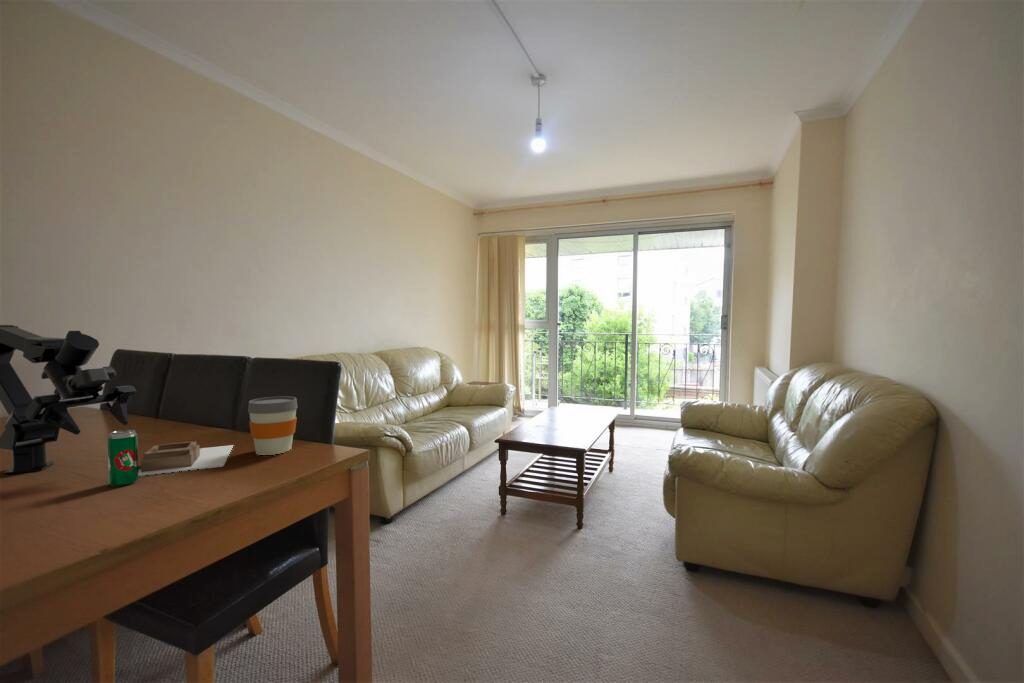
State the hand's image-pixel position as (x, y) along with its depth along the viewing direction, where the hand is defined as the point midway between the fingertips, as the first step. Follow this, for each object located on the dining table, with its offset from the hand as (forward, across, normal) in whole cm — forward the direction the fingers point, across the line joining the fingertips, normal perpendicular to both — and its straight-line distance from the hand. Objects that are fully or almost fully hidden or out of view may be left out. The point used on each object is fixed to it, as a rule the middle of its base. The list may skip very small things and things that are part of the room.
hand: (103, 428), depth 99 cm
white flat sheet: (+11, +17, +6) cm, 21 cm away
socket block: (+11, +12, +6) cm, 18 cm away
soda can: (+13, 0, +4) cm, 14 cm away
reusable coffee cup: (+22, +30, -4) cm, 37 cm away
